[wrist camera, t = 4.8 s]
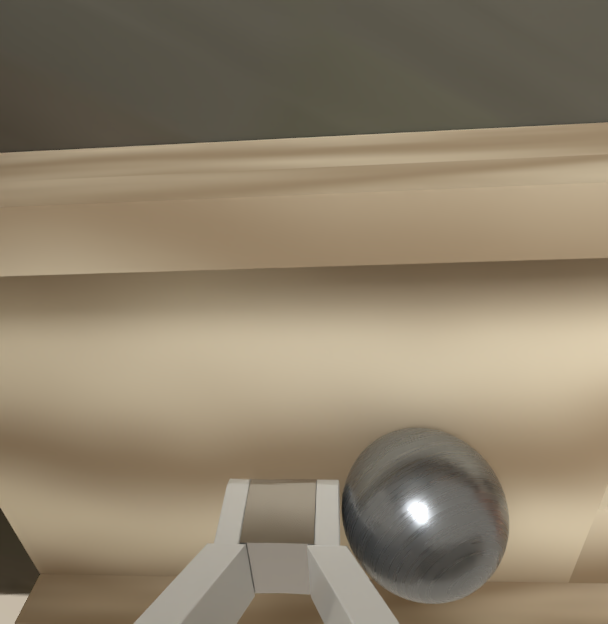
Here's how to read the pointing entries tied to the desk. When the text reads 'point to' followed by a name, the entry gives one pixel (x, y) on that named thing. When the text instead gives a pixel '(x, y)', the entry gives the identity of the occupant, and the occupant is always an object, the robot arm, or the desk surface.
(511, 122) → the desk surface
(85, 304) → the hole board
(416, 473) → the steel ball
